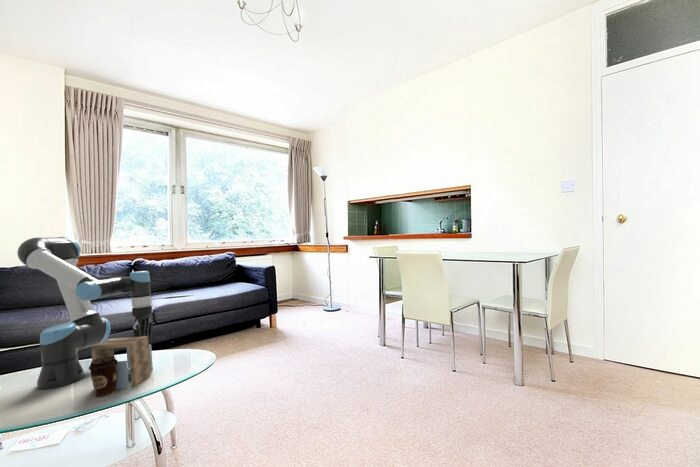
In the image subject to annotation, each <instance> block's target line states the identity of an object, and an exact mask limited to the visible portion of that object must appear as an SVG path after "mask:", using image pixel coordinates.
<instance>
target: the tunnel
mask: <svg viewBox="0 0 700 467" xmlns="http://www.w3.org/2000/svg"><path fill="white" fill-rule="evenodd" d="M149 345H150V343H149V342H148V336H138V337H135V336H128V337H126V336H125V337H114V338H107V339H106V340H105V341H103V342H100V343H98V344H96V345H93V346H90V347H91V362H92V361H94V360H96V359H99V358H104V357H110V356H113V357H115V349H121V348H122V349H124V348H126V347H129V354H130V369H131V374H130V381H131V387H137V386H138V385H140V384H142V383H143V382H145V380H147V379H149V378H150V377H151V376H152V374H151V372H152V371H150V357H149Z"/></svg>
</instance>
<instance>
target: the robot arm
mask: <svg viewBox="0 0 700 467" xmlns="http://www.w3.org/2000/svg"><path fill="white" fill-rule="evenodd" d="M81 251H82V249H81V247H80V244H79V243H78V242H77V241H76V240H75V239H74V238H70V237H64V236H58V237H32V238H31V237H30V238H29V239H26V240H24V241H23V242H22V243H20V245H19V247H18V249H17V257H18V259H19V261H20V262H21V263H22V264H23V265H24V266H26V267H28V268H30V269H34V270H35V269H37V270H39V271H41V272H42V273H44V274H45V275H48V276H50V277H52V278H53V279H55V280H56V283H57V286H58V288H59V291H60V293H61V295H62V299H63V301H64V304H65V306H66V308H67V311H68V314H69V317H70V320H69V322H63V323H60V324H55V325H52V326H49V327H47V328H45V329H43V330H42V331H41V332H40V334H39V335H40V336H39V338H40V339H39V344H40V358H41V369H40V372H39V375H38V378H37V381H36V386H37V387H36V388H37V389H39V390H48V389H55V388H60V387H63V386H67V385H69V384H73V383H75V382H78V381H79V380H81V379H83V378H84V377H85V371H84V370H85V369H83V367H82V365H81V362H80V361H79V357H78V352H79V351H80V350H85V349H87V348H90V347H91V346H93V345H96V344H98V343H100V342H103V341H105V340H108V339H109V338H108V337H109V336H110V334H111V330H112V328H111V323H110V321H109V320H108V318H106V317H103V316H101V315H100V313H99V311H95V310H94V308H93V306H92V305H93V304H92V302H91V301H95V300H97V299H103V298H107V297H112V296H113V297H114V296H117V295H122V294H123V295H124V294H130V298H131V307H132V308H131V313H132V314H131V315H132V316H133V317H134V318H135V320H134V324H131V330H132V331H133V335H134V336H133V337H138V336H148V342H149V344H151V343H152V338H153V324H154V321H155V320H154V318H151V316H150V315H151V314H152V313H153V307H152V304H153V303H152V293H151V277H150V272H149V271H148V270H141V271H140V270H139V271H131V272H130V273H129V276H115V277H110V278H105V279H97V278H95V277H94V276H92V275H90V274H88V273H87V272H85V271H82V270H81V269H79V268H78V267H77V264H78V262H79V258H80V256H81Z"/></svg>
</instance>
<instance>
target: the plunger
mask: <svg viewBox="0 0 700 467" xmlns="http://www.w3.org/2000/svg"><path fill="white" fill-rule="evenodd" d="M149 357H150V372H153V371H154V369H153V368H154V365H153V350H152V344H149ZM117 361H118V360H117ZM116 372H117V374H116V387H115V388H116V390H122V389H128V388H129V385H130V384H129V376H131V369H130V354H129V347H126V360H119V361H118V363H117V366H116Z"/></svg>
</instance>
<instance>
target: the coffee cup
mask: <svg viewBox="0 0 700 467" xmlns="http://www.w3.org/2000/svg"><path fill="white" fill-rule="evenodd" d="M117 363H118V360H117V359H116V357H115V356H114V357H113V356H110V357H104V358H99V359H96V360H94V361H92V360H91V361H90V365H89V366H88V370H89V371H90V377H91V382H92V386H93V390H94V391H95V395H94V396H95V397H96V398H105V397H108V396H111V395H113V394H115V393H116V392H117V389H116V388H115V387H116V374H117V372H116V366H117Z"/></svg>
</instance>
